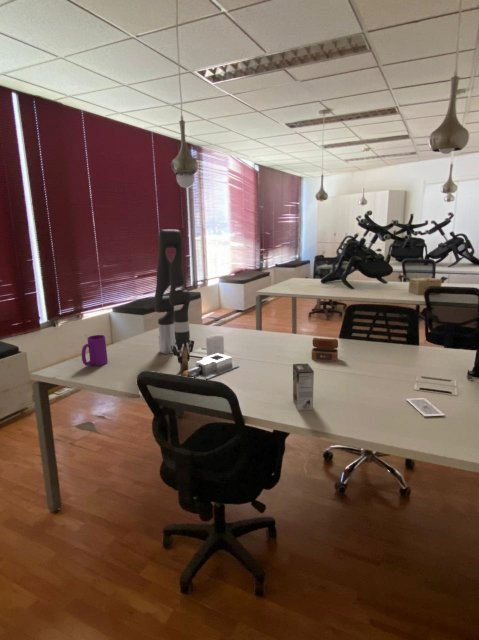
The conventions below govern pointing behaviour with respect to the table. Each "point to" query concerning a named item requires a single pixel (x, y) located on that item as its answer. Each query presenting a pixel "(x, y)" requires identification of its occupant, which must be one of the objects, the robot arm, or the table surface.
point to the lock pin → (192, 371)
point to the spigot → (184, 359)
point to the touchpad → (425, 407)
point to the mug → (95, 351)
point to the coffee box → (303, 386)
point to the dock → (213, 366)
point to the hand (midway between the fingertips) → (183, 361)
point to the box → (325, 349)
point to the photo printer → (215, 344)
